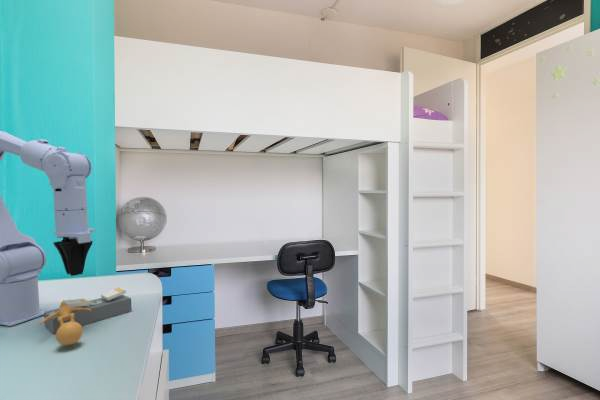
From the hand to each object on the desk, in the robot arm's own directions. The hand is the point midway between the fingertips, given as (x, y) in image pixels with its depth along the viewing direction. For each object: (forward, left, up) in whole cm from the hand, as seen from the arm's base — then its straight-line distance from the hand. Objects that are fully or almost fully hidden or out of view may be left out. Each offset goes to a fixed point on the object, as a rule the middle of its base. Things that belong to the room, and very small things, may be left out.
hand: (74, 273), depth 72 cm
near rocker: (0, 0, -7) cm, 7 cm away
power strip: (+1, +2, -10) cm, 11 cm away
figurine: (+11, -9, -10) cm, 17 cm away
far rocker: (+2, +7, -7) cm, 10 cm away
